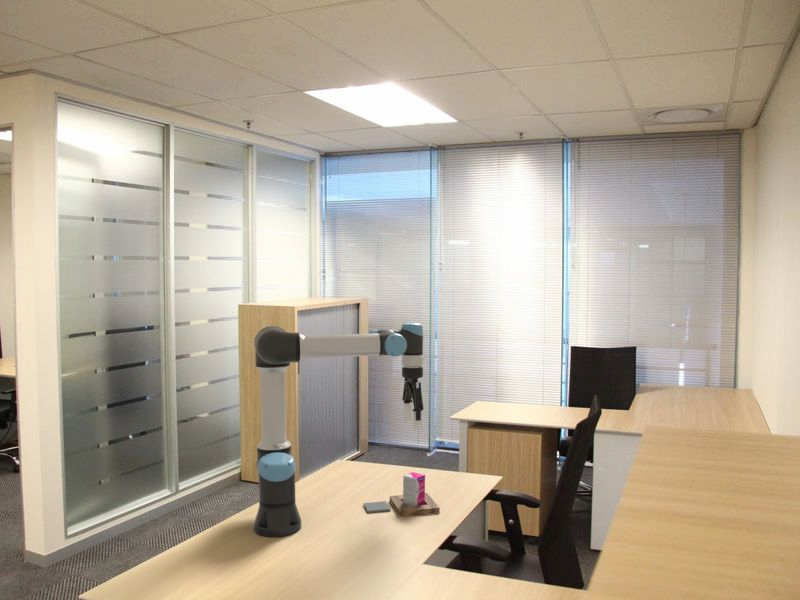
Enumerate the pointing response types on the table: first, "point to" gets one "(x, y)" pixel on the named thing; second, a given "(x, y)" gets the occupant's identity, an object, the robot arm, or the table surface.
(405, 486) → the supplement box
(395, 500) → the board
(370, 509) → the coaster
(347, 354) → the robot arm
